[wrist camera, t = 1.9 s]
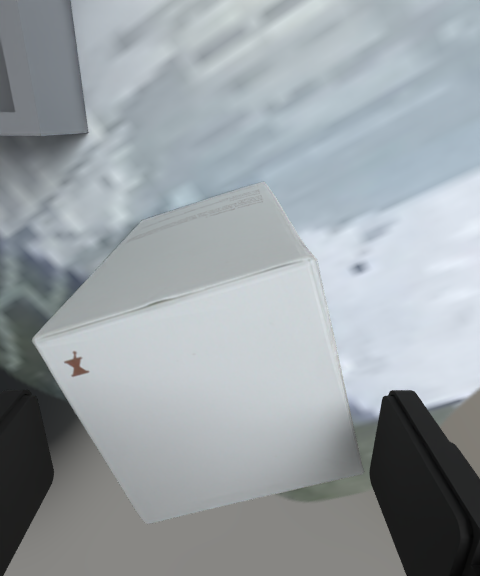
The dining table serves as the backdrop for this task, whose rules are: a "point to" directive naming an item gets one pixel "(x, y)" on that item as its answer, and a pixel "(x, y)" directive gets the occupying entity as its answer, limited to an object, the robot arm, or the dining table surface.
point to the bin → (39, 70)
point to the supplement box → (206, 360)
